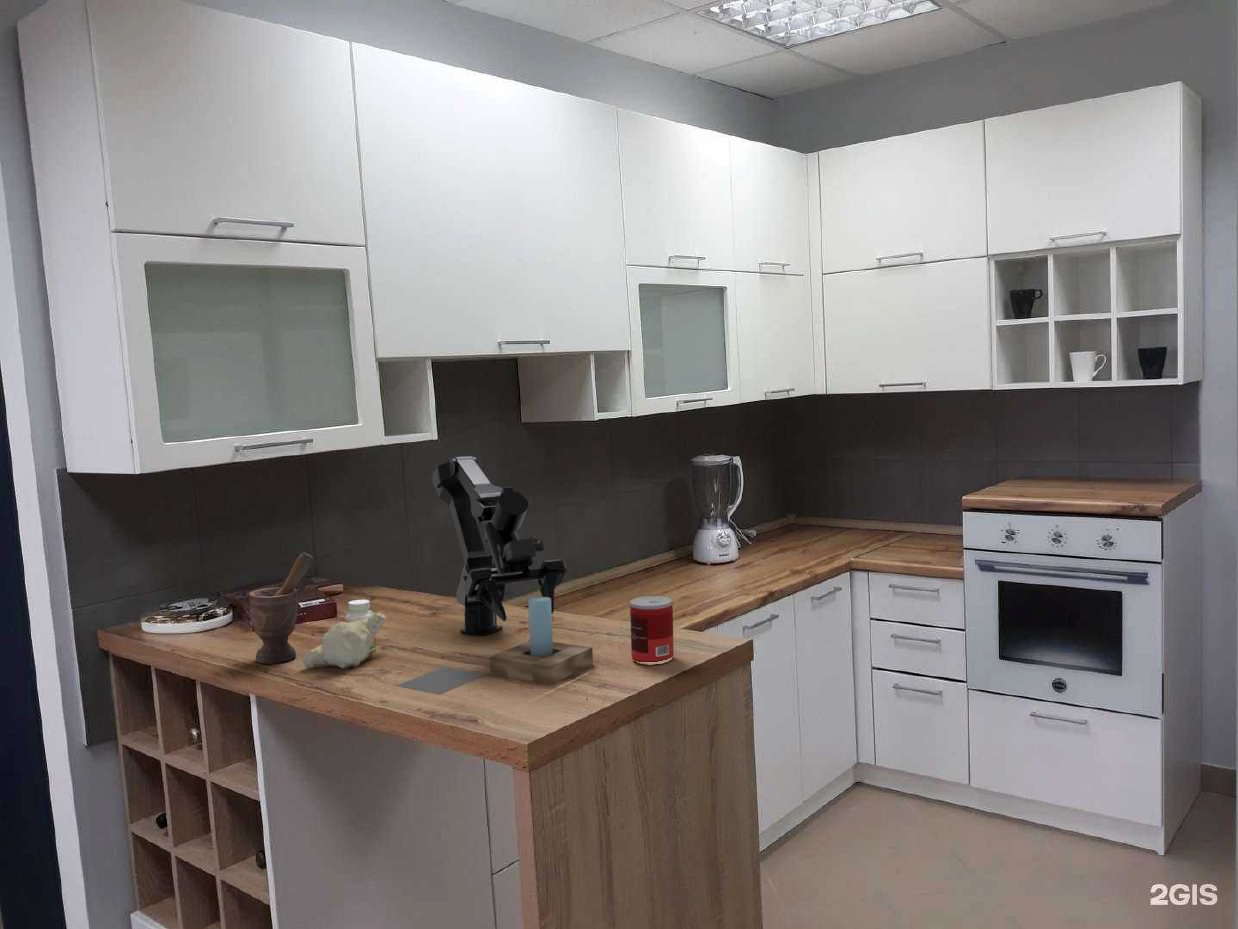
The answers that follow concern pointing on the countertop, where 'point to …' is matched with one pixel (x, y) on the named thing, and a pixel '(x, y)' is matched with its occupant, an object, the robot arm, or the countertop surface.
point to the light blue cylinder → (540, 627)
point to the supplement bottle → (359, 613)
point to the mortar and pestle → (277, 615)
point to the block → (541, 663)
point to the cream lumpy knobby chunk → (346, 643)
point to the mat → (441, 680)
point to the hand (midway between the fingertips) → (528, 616)
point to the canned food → (651, 628)
